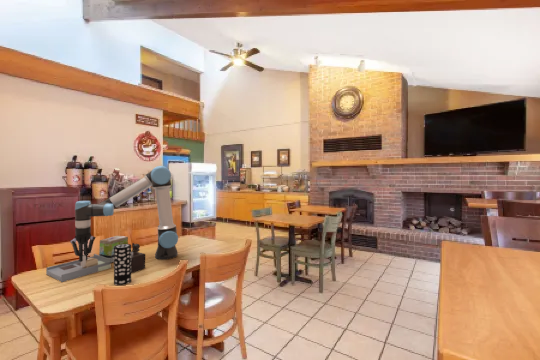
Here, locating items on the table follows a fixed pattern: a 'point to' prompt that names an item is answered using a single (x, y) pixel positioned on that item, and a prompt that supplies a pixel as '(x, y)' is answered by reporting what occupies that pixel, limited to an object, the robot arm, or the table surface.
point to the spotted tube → (122, 264)
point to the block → (91, 262)
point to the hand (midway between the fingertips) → (83, 266)
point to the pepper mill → (137, 259)
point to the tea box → (111, 246)
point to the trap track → (77, 269)
